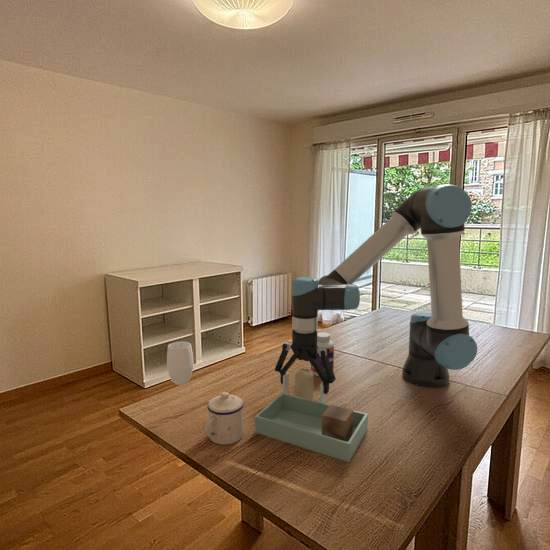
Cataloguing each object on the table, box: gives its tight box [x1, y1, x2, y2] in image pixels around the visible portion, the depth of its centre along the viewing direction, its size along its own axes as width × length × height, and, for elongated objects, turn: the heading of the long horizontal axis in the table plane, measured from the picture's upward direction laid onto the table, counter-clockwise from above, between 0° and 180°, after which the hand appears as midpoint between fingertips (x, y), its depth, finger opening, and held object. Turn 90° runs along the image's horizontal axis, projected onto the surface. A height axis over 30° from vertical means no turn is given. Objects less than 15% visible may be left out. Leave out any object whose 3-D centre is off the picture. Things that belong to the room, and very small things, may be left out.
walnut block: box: [322, 404, 354, 442], centre depth 97 cm, size 6×6×7 cm
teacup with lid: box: [203, 391, 244, 446], centre depth 98 cm, size 12×9×12 cm
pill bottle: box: [310, 331, 335, 377], centre depth 137 cm, size 8×8×14 cm
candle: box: [294, 367, 314, 400], centre depth 117 cm, size 6×6×10 cm
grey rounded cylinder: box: [166, 341, 195, 386], centre depth 109 cm, size 7×7×21 cm
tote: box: [254, 392, 369, 463], centre depth 100 cm, size 25×15×5 cm, turn 61°
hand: (304, 398), depth 118 cm, fingers open, 12 cm apart
